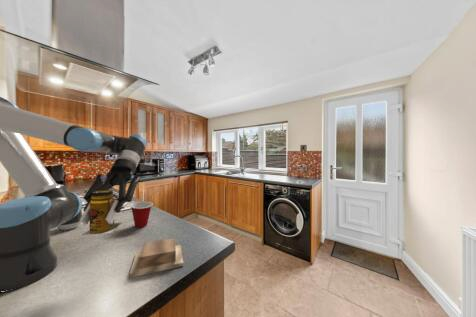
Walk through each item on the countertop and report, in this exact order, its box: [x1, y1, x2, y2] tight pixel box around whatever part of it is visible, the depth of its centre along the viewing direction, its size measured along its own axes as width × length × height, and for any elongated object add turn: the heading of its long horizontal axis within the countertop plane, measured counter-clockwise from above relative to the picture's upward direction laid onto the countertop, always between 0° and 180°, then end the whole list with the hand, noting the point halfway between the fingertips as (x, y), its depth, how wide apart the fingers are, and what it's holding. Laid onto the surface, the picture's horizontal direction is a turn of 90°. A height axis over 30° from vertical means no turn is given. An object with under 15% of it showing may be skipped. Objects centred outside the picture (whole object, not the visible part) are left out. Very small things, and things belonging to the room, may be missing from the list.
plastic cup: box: [129, 201, 154, 228], centre depth 93 cm, size 11×11×12 cm
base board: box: [129, 237, 184, 278], centre depth 62 cm, size 16×13×5 cm
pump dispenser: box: [56, 209, 83, 231], centre depth 88 cm, size 10×10×15 cm
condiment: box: [82, 189, 124, 235], centre depth 53 cm, size 7×8×12 cm
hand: (96, 221), depth 50 cm, fingers closed on condiment, 6 cm apart
